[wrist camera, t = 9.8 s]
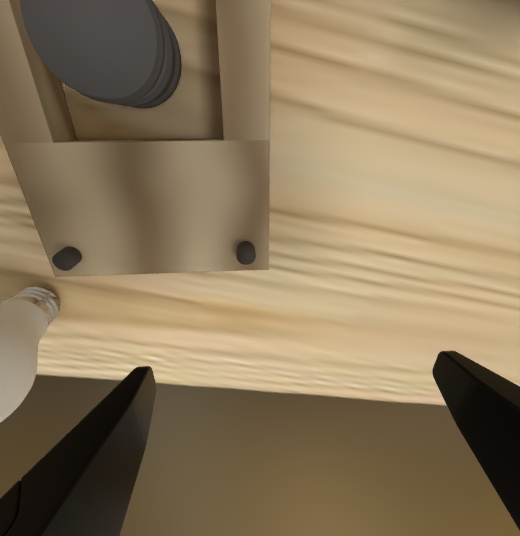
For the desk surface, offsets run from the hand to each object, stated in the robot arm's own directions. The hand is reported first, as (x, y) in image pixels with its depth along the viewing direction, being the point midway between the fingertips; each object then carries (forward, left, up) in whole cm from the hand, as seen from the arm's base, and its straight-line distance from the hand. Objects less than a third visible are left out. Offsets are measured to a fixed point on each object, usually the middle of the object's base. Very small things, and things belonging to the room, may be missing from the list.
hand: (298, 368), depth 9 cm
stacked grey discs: (+7, -10, -13) cm, 18 cm away
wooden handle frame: (+7, -6, -13) cm, 16 cm away
